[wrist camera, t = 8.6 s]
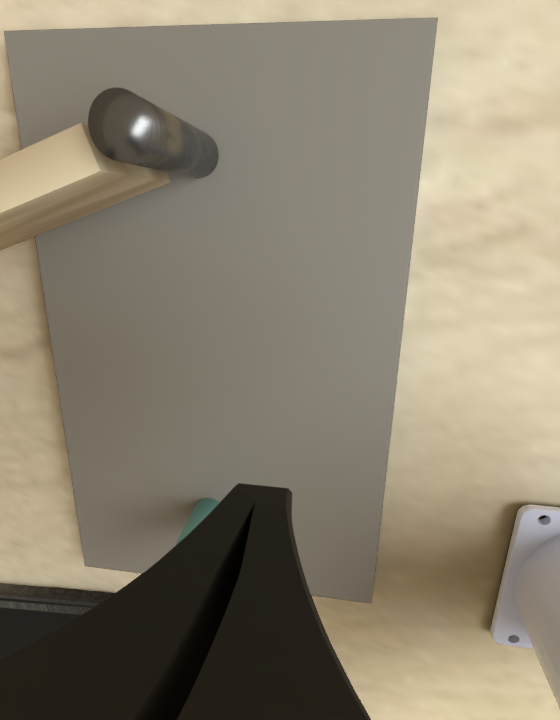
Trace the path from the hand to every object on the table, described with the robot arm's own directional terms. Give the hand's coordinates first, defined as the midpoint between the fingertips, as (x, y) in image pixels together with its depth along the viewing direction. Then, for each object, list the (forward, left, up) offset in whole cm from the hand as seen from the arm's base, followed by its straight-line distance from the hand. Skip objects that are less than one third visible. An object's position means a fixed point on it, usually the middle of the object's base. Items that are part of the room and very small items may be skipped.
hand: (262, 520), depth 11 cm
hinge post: (+4, -9, -9) cm, 14 cm away
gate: (+11, -6, -8) cm, 15 cm away
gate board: (+4, -1, -9) cm, 10 cm away
